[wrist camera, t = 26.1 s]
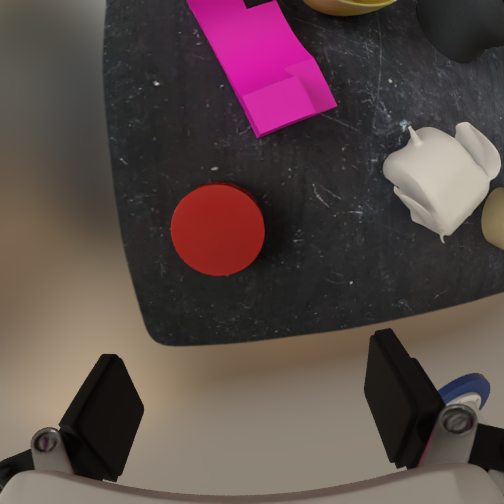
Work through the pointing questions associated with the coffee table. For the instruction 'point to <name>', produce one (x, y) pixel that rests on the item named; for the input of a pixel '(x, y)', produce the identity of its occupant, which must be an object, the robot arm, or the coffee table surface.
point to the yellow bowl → (347, 6)
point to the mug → (462, 26)
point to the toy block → (264, 63)
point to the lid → (218, 228)
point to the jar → (494, 218)
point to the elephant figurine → (443, 175)
